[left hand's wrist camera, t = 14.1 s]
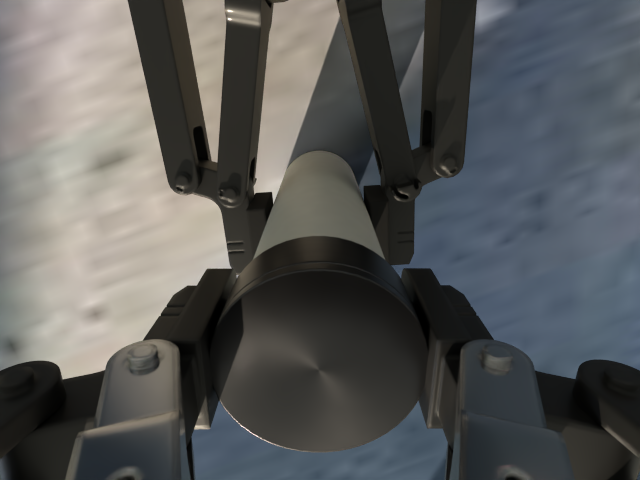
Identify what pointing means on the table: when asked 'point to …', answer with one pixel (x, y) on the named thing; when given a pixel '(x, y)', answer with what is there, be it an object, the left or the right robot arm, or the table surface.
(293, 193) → the white cylinder
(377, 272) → the lid
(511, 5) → the table surface
